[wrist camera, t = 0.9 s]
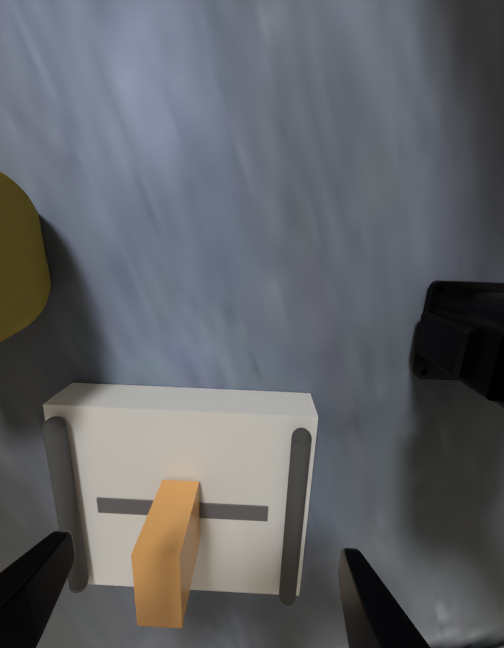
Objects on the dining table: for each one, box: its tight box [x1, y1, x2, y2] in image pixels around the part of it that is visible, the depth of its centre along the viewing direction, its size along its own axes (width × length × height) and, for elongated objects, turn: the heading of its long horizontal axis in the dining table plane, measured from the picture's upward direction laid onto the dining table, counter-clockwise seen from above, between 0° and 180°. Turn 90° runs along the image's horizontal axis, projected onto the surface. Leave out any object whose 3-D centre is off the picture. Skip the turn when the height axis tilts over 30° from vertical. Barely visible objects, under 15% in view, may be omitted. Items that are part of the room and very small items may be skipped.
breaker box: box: [43, 383, 318, 596], centre depth 21 cm, size 17×15×3 cm
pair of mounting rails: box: [42, 416, 312, 605], centre depth 19 cm, size 16×14×1 cm
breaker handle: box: [131, 480, 200, 628], centre depth 17 cm, size 2×5×5 cm, turn 178°
